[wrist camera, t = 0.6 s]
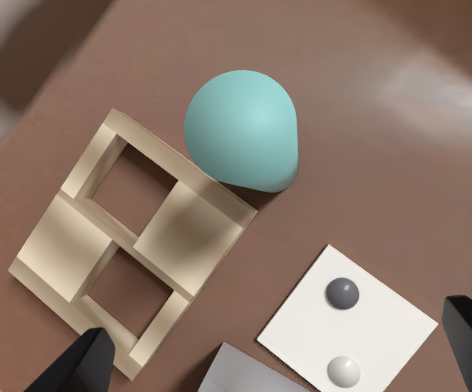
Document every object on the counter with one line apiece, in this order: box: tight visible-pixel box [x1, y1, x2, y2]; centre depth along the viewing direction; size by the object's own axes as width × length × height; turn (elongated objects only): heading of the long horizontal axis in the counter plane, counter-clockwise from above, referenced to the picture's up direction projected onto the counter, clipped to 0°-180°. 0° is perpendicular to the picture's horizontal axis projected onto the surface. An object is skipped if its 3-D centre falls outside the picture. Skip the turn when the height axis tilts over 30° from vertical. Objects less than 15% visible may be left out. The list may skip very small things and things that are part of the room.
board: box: [8, 108, 258, 381], centre depth 24 cm, size 14×12×2 cm
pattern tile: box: [257, 244, 438, 392], centre depth 22 cm, size 8×8×1 cm
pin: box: [184, 70, 298, 193], centre depth 17 cm, size 4×4×13 cm
